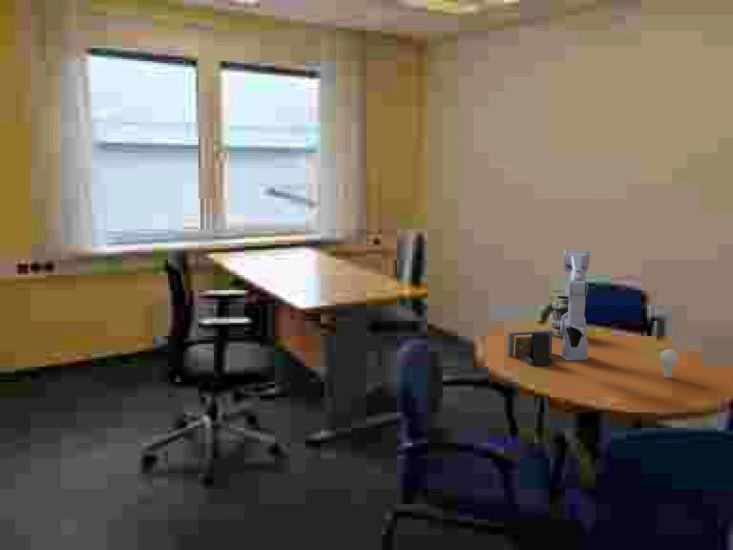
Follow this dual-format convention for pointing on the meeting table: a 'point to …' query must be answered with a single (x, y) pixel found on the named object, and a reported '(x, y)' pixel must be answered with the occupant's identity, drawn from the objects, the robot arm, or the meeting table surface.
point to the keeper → (532, 360)
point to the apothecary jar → (559, 313)
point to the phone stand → (540, 349)
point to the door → (522, 346)
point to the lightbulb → (668, 361)
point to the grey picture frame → (511, 334)
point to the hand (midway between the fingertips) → (574, 346)
